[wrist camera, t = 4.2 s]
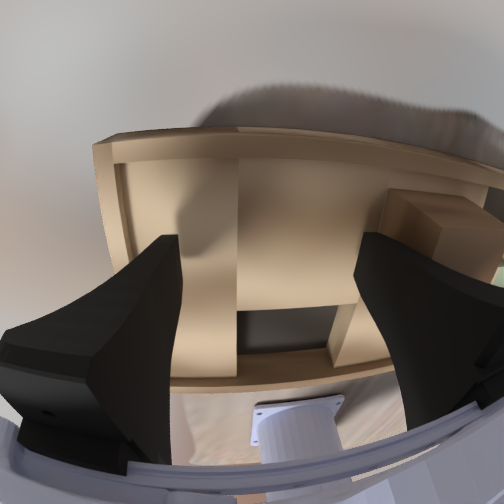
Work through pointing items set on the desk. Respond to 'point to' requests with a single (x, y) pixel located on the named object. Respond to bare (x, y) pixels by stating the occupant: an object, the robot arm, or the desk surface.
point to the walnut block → (446, 230)
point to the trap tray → (270, 242)
